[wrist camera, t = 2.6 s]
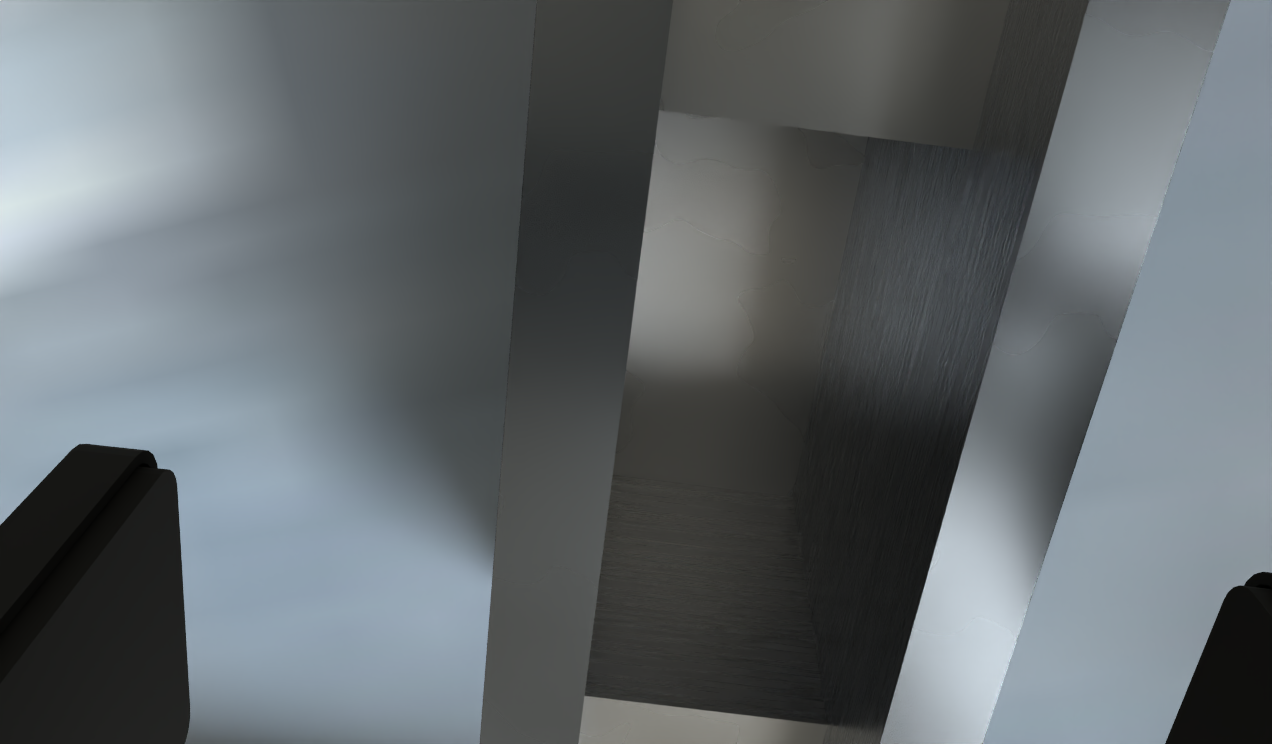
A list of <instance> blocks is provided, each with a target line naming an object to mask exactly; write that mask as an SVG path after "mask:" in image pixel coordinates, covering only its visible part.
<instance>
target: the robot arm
mask: <svg viewBox="0 0 1272 744" xmlns="http://www.w3.org/2000/svg"><path fill="white" fill-rule="evenodd" d="M189 721H190V699H189V682H188V665H187V647H186V630H185V613H184V596H183V578H182V561H181V544H180V527H179V509H178V492H177V482H176V478H175V475H174V473H173V472H172V471H171V470H167V469H158V468H157V463H156V460H155V458H154V455H153V454H152V453H151V452H149V451H146V450H137V449H128V448H119V447H110V446H100V445H91V444H79V445H78V446H76V447H75V448H74V449H72V450H71V451H70V452H69V453H68V454H67V455H66V456H65V458H64V459H63V460H62V461H61V462H60V463H59V464H58V465H57V466H56V467H55V468H54V469H53V470H52V471H51V472H50V473H49V474H48V475H47V477H46V478H45V479H44V480H43V481H42V482H41V483H40V484H39V485H38V486H37V487H36V488H35V489H34V490H33V491H32V492H31V493H30V494H29V496H28V497H27V498H26V499H25V500H24V501H23V502H22V503H21V504H20V505H19V506H18V507H17V508H16V509H15V510H14V511H13V512H12V513H11V515H10V516H9V517H8V518H7V519H6V520H5V521H4V522H3V523H2V524H1V525H0V744H185V741H186V737H187V733H188V728H189ZM1165 744H1272V573H1269V572H1261V573H1257V574H1254V575H1253V576H1252V577H1251V578H1250V579H1249V580H1247V581H1246V583H1245V585H1244V586H1237V587H1234V588H1233V589H1231V590H1230V591H1229V592H1228V594H1227V595H1226V597H1225V599H1224V601H1223V603H1222V606H1221V608H1220V611H1219V613H1218V616H1217V618H1216V621H1215V623H1214V625H1213V628H1212V630H1211V633H1210V635H1209V638H1208V640H1207V643H1206V645H1205V648H1204V650H1203V652H1202V655H1201V657H1200V660H1199V662H1198V665H1197V667H1196V670H1195V672H1194V675H1193V677H1192V679H1191V682H1190V684H1189V687H1188V689H1187V692H1186V694H1185V697H1184V699H1183V702H1182V704H1181V706H1180V709H1179V711H1178V714H1177V716H1176V719H1175V721H1174V724H1173V726H1172V728H1171V731H1170V733H1169V736H1168V738H1167V741H1166V743H1165Z"/></svg>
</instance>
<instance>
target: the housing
mask: <svg viewBox="0 0 1272 744" xmlns="http://www.w3.org/2000/svg"><path fill="white" fill-rule="evenodd" d="M1230 1H1231V0H537V7H536V20H535V33H534V46H533V59H532V72H531V84H530V97H529V110H528V123H527V136H526V149H525V162H524V175H523V188H522V201H521V214H520V227H519V240H518V253H517V266H516V279H515V292H514V305H513V318H512V331H511V344H510V357H509V370H508V383H507V396H506V409H505V422H504V435H503V448H502V461H501V474H500V487H499V500H498V513H497V526H496V539H495V552H494V565H493V578H492V591H491V604H490V617H489V630H488V643H487V656H486V669H485V682H484V695H483V707H482V720H481V733H480V744H983V741H984V738H985V735H986V732H987V729H988V726H989V723H990V720H991V717H992V714H993V711H994V708H995V705H996V702H997V699H998V696H999V693H1000V690H1001V687H1002V684H1003V681H1004V678H1005V675H1006V672H1007V669H1008V666H1009V663H1010V660H1011V657H1012V654H1013V651H1014V648H1015V645H1016V642H1017V639H1018V636H1019V633H1020V630H1021V627H1022V624H1023V621H1024V618H1025V615H1026V612H1027V609H1028V606H1029V603H1030V600H1031V597H1032V594H1033V591H1034V588H1035V585H1036V582H1037V579H1038V576H1039V573H1040V570H1041V567H1042V564H1043V561H1044V558H1045V555H1046V552H1047V549H1048V546H1049V543H1050V540H1051V537H1052V534H1053V531H1054V528H1055V525H1056V522H1057V519H1058V516H1059V513H1060V510H1061V507H1062V504H1063V501H1064V498H1065V495H1066V492H1067V489H1068V486H1069V483H1070V480H1071V477H1072V474H1073V471H1074V468H1075V465H1076V462H1077V459H1078V456H1079V453H1080V450H1081V447H1082V444H1083V441H1084V438H1085V435H1086V432H1087V429H1088V426H1089V423H1090V420H1091V417H1092V414H1093V411H1094V408H1095V405H1096V402H1097V399H1098V396H1099V393H1100V390H1101V387H1102V384H1103V381H1104V378H1105V375H1106V372H1107V369H1108V366H1109V363H1110V360H1111V357H1112V354H1113V351H1114V348H1115V345H1116V342H1117V339H1118V336H1119V333H1120V330H1121V327H1122V324H1123V321H1124V318H1125V315H1126V312H1127V309H1128V306H1129V303H1130V300H1131V297H1132V294H1133V291H1134V288H1135V285H1136V282H1137V279H1138V277H1139V274H1140V271H1141V268H1142V265H1143V262H1144V259H1145V256H1146V253H1147V250H1148V247H1149V244H1150V241H1151V238H1152V235H1153V232H1154V229H1155V226H1156V223H1157V220H1158V217H1159V214H1160V211H1161V208H1162V205H1163V202H1164V199H1165V196H1166V193H1167V190H1168V187H1169V184H1170V181H1171V178H1172V175H1173V172H1174V169H1175V166H1176V163H1177V160H1178V157H1179V154H1180V151H1181V148H1182V145H1183V142H1184V139H1185V136H1186V133H1187V130H1188V127H1189V124H1190V121H1191V118H1192V115H1193V112H1194V109H1195V106H1196V103H1197V100H1198V97H1199V94H1200V91H1201V88H1202V85H1203V82H1204V79H1205V76H1206V73H1207V70H1208V67H1209V64H1210V61H1211V58H1212V55H1213V52H1214V49H1215V46H1216V43H1217V40H1218V37H1219V34H1220V31H1221V28H1222V25H1223V22H1224V19H1225V16H1226V13H1227V10H1228V7H1229V4H1230Z"/></svg>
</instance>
